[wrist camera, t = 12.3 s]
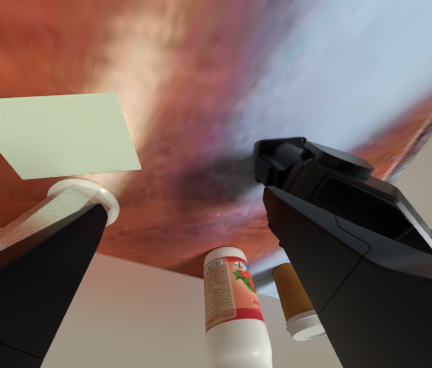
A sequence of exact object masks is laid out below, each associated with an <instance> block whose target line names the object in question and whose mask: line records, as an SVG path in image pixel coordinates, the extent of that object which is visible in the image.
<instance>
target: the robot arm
mask: <svg viewBox="0 0 432 368" xmlns="http://www.w3.org/2000/svg"><path fill="white" fill-rule="evenodd" d="M302 140H303V141H302ZM301 141H302V142H301ZM306 141H307V139H306V138H305V137H292V138H279V139H266V140H261V141H260V142H259V148H258V155H257V156H256V161H255V171H254V172H255V173H256V177H255V180H256V182H258V183H261V182H262V183H263V185H264V186H265V188H264V193H263V203H264V205H265V208H266V211H267V218H268V222H269V223H268V227H269V228H270V230H271V231H272V233H273V234H274V235H275V236H276V237H277V238H278V239H279V240H280V242H279V246H280V247H282V248H284V250H285V252H286V254H287V256H288V258H289V260H290V262H291V264H292V266H293V268H294V270H295V272H296V274H297V276H298V278H299V280H300V282H301V284H302V286H303V288H304V290H305V292H306V294H307V296H308V298H309V300H310V302H311V304H312V306H313V308H314V310H315V312H316V314H317V315H318V318H319V320H320V322H321V324H322V326H323V328H324V330H325V332H326V334H327V336H328V338H329V340H330V342H331V344H332V346H333V348H334V350H335V352H336V354H337V356H338V358H339V360H340V362H341V364H342V366H343V368H432V230H431V229H430V228H429V227H428V225H427V224H426V223H425V222H424V221H423V219H422V218H421V217H420V215H419V214H418V213H417V211H416V210H415V209H414V208H413V207H412V205H411V204H410V203H409V201H408V200H407V199H406V198H405V196H404V195H403V194H402V193H401V191H400V190H399V189H398V188H397V187H395V186H394V185H391V184H389V183H387V182H385V181H382V180H380V179H378V178H375V177H373V176H371V174H372V173H373V172H374V170H375V168H373V167H372V166H371V165H370V164H369V163H368V162H367V161H366V160H364V159H361V158H359V157H356V156H353V155H351V154H348V153H346V152H343V151H340V150H336V149H333V148H329V147H326V146H323V145H319V144H316V143H313V142H309V141H307V142H306ZM263 142H264V145H262V143H263ZM258 179H259V180H258ZM107 220H108V214H107V212H106V210H105V208H104V206H103V205H102V204H101V203H92V204H90V205H88V206H86V207H84V208H82V209H80V210H78V211H76V212H74V213H72V214H71V215H69V216H67V217H65V218H63V219H61V220H59V221H57V222H55V223H53V224H51V225H49V226H47V227H45V228H44V229H42V230H40V231H38V232H36V233H34V234H32V235H30V236H28V237H26V238H24V239H22V240H20V241H18V242H17V243H15V244H13V245H11V246H9V247H7V248H5V249H3V250H1V251H0V368H40V367H41V365H42V363H43V359H44V358H45V356H46V354H47V352H48V350H49V347H50V345H51V343H52V341H53V339H54V337H55V335H56V333H57V331H58V329H59V327H60V325H61V322H62V320H63V318H64V316H65V314H66V312H67V310H68V308H69V306H70V304H71V302H72V299H73V297H74V295H75V293H76V291H77V289H78V287H79V285H80V283H81V281H82V278H83V276H84V274H85V272H86V270H87V268H88V266H89V264H90V262H91V260H92V258H93V256H94V253H95V251H96V249H97V247H98V245H99V242H100V240H101V237H102V234H103V231H104V229H105V226H106V223H107Z"/></svg>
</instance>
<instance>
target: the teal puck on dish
mask: <svg viewBox="0 0 432 368" xmlns="http://www.w3.org/2000/svg"><path fill="white" fill-rule="evenodd" d="M72 184H76V185H80V186H84V187H88V188H91V189H95V190H99V191H100V192H101V193H102V194H103V195H104V196H105V198H106V199H107V200H108V201H109V202H110V203H111V204H112V205H113V209H112V214H111V219H110V221H109V222H108V224H107V225H106V226H108V225H110V224H112V223H113V222H114V221H115V220H116V218H117V217H118V215H119V213H120V205H119V202H118V200H117V198H116V197H115V195H114V194H113V193H112V192H111V191H110V190H108V189H107V188H106V187H104V186H102V185H101V184H99V183H96V182H94V181H91V180H87V179H82V178H68V179H64V180H61V181H59V182H57V183H56V184H54V185H53V186H52V187H51V188H50V189H49V191H48V194H47V197H48V196H49V195H51V194H52V193H54V192H55V191H57V190H60V189H62V188H65V187H67V186H70V185H72Z"/></svg>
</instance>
